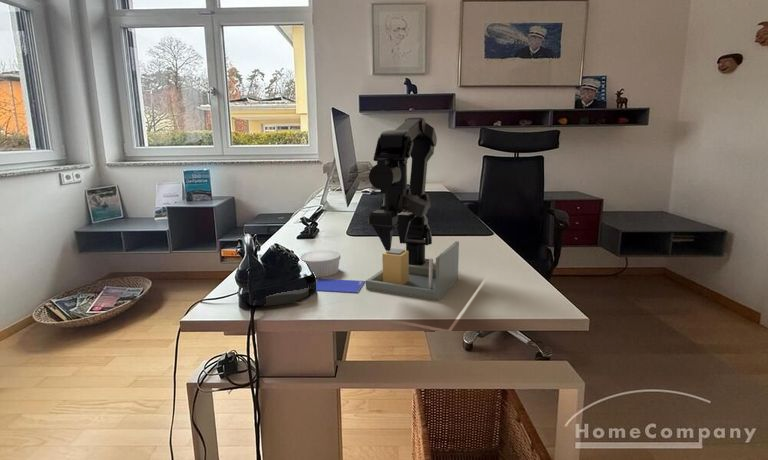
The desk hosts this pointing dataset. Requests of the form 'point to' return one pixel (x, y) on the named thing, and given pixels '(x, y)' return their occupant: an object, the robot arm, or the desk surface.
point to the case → (424, 277)
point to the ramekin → (322, 262)
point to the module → (396, 266)
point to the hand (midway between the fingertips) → (395, 245)
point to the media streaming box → (286, 297)
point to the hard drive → (339, 285)
